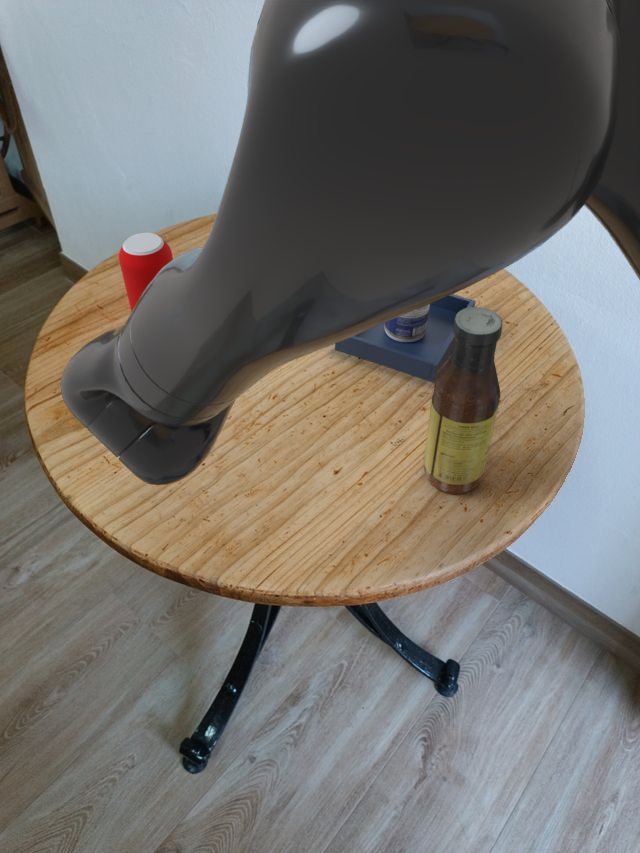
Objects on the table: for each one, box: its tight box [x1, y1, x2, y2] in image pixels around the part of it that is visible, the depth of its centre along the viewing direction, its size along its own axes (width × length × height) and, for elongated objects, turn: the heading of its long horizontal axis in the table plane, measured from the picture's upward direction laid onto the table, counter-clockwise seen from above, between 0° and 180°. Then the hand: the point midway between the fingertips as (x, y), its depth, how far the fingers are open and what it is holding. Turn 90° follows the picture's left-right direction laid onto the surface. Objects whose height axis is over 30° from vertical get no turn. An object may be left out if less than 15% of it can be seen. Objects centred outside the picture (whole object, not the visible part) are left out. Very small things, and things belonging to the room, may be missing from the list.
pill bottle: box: [384, 304, 430, 342], centre depth 84 cm, size 5×5×10 cm
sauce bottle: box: [423, 306, 503, 495], centre depth 65 cm, size 7×6×20 cm
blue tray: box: [334, 293, 477, 383], centre depth 87 cm, size 13×14×3 cm
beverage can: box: [118, 232, 174, 312], centre depth 85 cm, size 6×6×12 cm
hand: (377, 195), depth 64 cm, fingers open, 8 cm apart
